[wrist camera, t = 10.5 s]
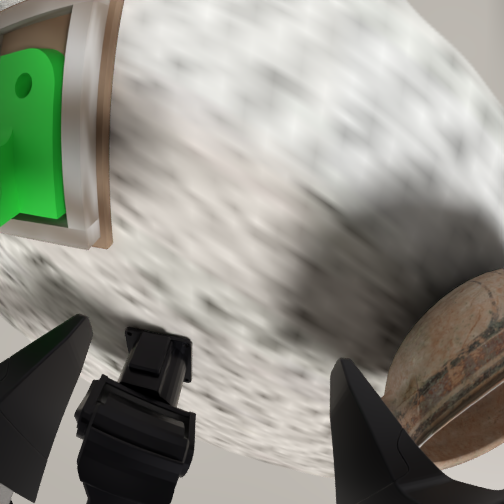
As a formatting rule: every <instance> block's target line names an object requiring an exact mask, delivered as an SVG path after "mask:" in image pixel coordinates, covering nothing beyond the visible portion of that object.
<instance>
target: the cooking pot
mask: <svg viewBox="0 0 504 504" xmlns="http://www.w3.org/2000/svg"><path fill="white" fill-rule="evenodd" d="M381 399H382V400H383V402H384V403H385V404H386V406H387V407H388V408H389V410H390V411H391V412H392V413H393V415H394V416H395V417H396V419H397V420H398V421H399V423H400V424H401V425H402V428H404V429H405V430H406V432H407V433H408V434H409V436H410V437H411V438H412V439H413V441H414V442H415V443H416V444H417V445H418V447H419V448H420V449H421V450H422V451H423V452H424V453H425V454H426V455H427V456H428V457H429V459H430V460H431V461H432V462H433V463H434V464H435V465H436V466H437V467H438V468H439V469H440V470H443V469H446V468H450V467H453V466H456V465H459V464H462V463H465V462H467V461H469V460H472V459H474V458H476V457H478V456H480V455H482V454H484V453H486V452H488V451H490V450H492V449H494V448H496V447H497V446H499V445H500V444H502V443H504V268H503V269H498V270H495V271H491V272H487V273H484V274H482V275H480V276H477V277H475V278H473V279H471V280H469V281H467V282H465V283H464V284H462V285H460V286H459V287H457V288H455V289H454V290H453V291H451V292H450V293H449V294H447V295H446V296H444V297H443V298H442V299H441V300H439V301H438V302H437V303H436V304H435V305H434V306H433V307H432V308H430V309H429V310H428V311H427V312H426V313H425V314H424V316H423V317H422V318H421V319H420V320H419V321H418V322H417V323H416V324H415V326H414V327H413V328H412V330H411V331H410V332H409V333H408V335H407V336H406V337H405V339H404V341H403V342H402V344H401V346H400V347H399V349H398V351H397V352H396V354H395V357H394V359H393V362H392V364H391V366H390V369H389V372H388V376H387V382H386V387H385V393H384V396H383V397H382V398H381Z"/></svg>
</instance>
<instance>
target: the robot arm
mask: <svg viewBox="0 0 504 504" xmlns="http://www.w3.org/2000/svg"><path fill="white" fill-rule="evenodd" d="M92 336H93V332H92V328H91V324H90V320H89V318H88V316H86V315H82V314H77V315H75V316H73V317H72V318H70V319H68V320H67V321H65V322H64V323H62V324H60V325H59V326H57V327H56V328H54V329H53V330H51V331H49V332H48V333H46V334H45V335H43V336H41V337H40V338H38V339H37V340H35V341H34V342H32V343H31V344H29V345H27V346H26V347H24V348H23V349H21V350H20V351H18V352H17V353H15V354H14V355H12V356H11V357H10V358H7V359H6V360H5V361H3V362H1V363H0V504H13V503H12V501H11V497H12V494H13V492H15V493H17V494H19V495H20V496H22V497H24V498H26V499H28V500H30V501H31V502H33V503H35V500H36V497H37V493H38V490H39V486H40V483H41V479H42V476H43V473H44V470H45V466H46V463H47V459H48V457H49V454H50V451H51V448H52V445H53V442H54V439H55V436H56V433H57V430H58V428H59V425H60V422H61V420H62V417H63V415H64V412H65V409H66V407H67V404H68V402H69V399H70V397H71V394H72V392H73V389H74V387H75V385H76V382H77V380H78V378H79V375H80V373H81V370H82V367H83V364H84V361H85V358H86V355H87V352H88V349H89V346H90V343H91V340H92ZM125 336H126V341H127V346H128V351H129V356H128V358H127V360H126V363H125V365H124V367H123V370H122V372H121V374H120V377H119V379H118V381H117V382H116V381H114V380H112V379H110V378H108V376H106V375H104V374H102V376H101V378H100V380H93V381H92V384H91V386H90V388H89V390H88V392H87V394H86V396H85V397H84V399H83V400H82V402H81V403H80V405H79V407H78V408H77V410H76V412H75V415H74V417H75V419H76V421H77V428H78V430H77V434H76V436H77V437H79V438H80V439H83V443H82V446H81V449H80V452H79V455H78V458H77V465H78V466H77V469H78V474H79V478H80V481H81V482H83V485H84V488H85V491H86V494H87V497H88V500H87V503H86V504H170V503H171V500H172V497H173V493H174V489H175V486H176V484H177V481H178V478H179V477H183V476H184V475H185V474H186V473H187V471H188V469H189V467H190V464H191V461H192V457H193V453H194V443H195V420H196V413H193V412H187V411H184V410H182V409H179V408H177V404H178V400H179V396H180V392H181V388H182V384H183V382H186V383H190V382H191V380H192V342H191V341H190V340H188V339H184V338H179V337H173V336H168V335H163V334H159V333H154V332H149V331H145V330H140V329H136V328H131V327H127V328H126V330H125ZM330 422H331V433H332V445H333V457H334V471H335V487H336V504H504V489H503V490H490V489H486V488H482V487H478V486H474V485H470V484H466V483H463V482H459V481H456V480H453V479H451V478H449V477H448V476H447V475H445V474H444V473H443V472H442V471H441V470H440V469H439V468H438V467H437V466H436V465H435V464H434V463H433V462H432V461H431V460H430V459H429V457H428V456H427V455H426V454H425V453H424V452H423V451H422V450H421V449H420V448H419V447H418V445H417V444H416V443H415V442H414V441H413V439H412V438H411V437H410V436H409V434H408V433H407V432H406V430H405V429H404V428H402V425H401V424H400V423H399V421H398V420H397V419H396V417H395V416H394V415H393V413H392V412H391V411H390V410H389V408H388V407H387V406H386V404H385V403H384V402H383V400H382V399H381V398H380V396H379V395H378V394H377V393H376V391H375V390H374V389H373V387H372V386H371V385H370V383H369V382H368V381H367V379H366V378H365V377H364V376H363V374H362V373H361V372H360V370H359V369H358V368H357V367H356V365H355V364H354V363H353V361H352V360H351V359H349V358H339V359H338V360H337V362H336V364H335V366H334V368H333V370H332V372H331V376H330Z"/></svg>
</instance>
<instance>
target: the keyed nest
mask: <svg viewBox="0 0 504 504" xmlns="http://www.w3.org/2000/svg"><path fill="white" fill-rule="evenodd" d="M123 4H124V0H25V1H23V2H20V3H18V4H16V5H13V6H11V7H9V8H7V9H4V10H2V11H0V57H1V56H3V55H7V54H10V53H13V52H17V51H21V50H25V49H29V48H45V49H55V50H57V51H59V52H61V53H62V54H63V55H64V56H65V63H64V73H63V87H62V109H61V147H62V170H63V184H64V196H65V205H66V213H65V214H64V215H62V216H61V217H60V218H58V219H53V218H47V217H41V216H36V215H30V214H24V213H19V214H17V215H16V216H15V217H13V218H12V219H11V220H9V221H8V222H6V223H5V224H4V225H2V226H1V227H0V233H4V234H9V235H13V236H18V237H23V238H28V239H33V240H38V241H43V242H48V243H53V244H58V245H64V246H69V247H74V248H79V249H85V250H89V249H90V247H91V246H92V247H97V248H103V249H108V248H109V247H110V246H111V245H112V243H113V238H112V225H111V210H110V187H109V129H110V107H111V92H112V80H113V70H114V61H115V53H116V45H117V38H118V32H119V25H120V20H121V14H122V9H123Z"/></svg>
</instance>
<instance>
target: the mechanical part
mask: <svg viewBox="0 0 504 504" xmlns="http://www.w3.org/2000/svg"><path fill="white" fill-rule="evenodd" d="M64 63H65V56H64V55H63V54H62V53H61V52H59V51H57V50H55V49H45V48H29V49H25V50H21V51H17V52H13V53H10V54H7V55H3V56H1V57H0V227H1V226H2V225H4V224H5V223H6V222H8V221H9V220H11V219H12V218H13V217H15V216H16V215H17V214H19V213H24V214H30V215H36V216H41V217H47V218H53V219H58V218H60V217H61V216H62V215H64V214H65V213H66V205H65V196H64V184H63V170H62V147H61V109H62V87H63V73H64Z"/></svg>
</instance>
